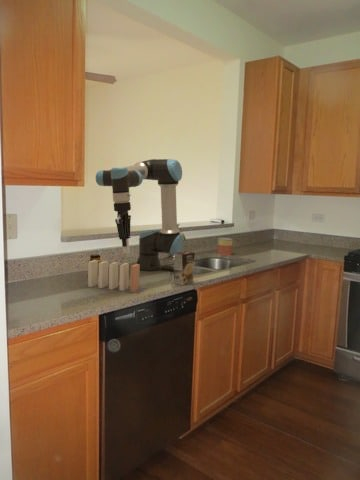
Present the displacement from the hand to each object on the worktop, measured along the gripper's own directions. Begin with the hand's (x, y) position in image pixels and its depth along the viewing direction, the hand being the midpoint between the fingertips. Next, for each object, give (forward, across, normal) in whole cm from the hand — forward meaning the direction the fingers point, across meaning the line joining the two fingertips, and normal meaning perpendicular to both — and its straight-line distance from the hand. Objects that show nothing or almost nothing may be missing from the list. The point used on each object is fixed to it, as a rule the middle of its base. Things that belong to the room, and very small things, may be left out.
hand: (126, 252), depth 183 cm
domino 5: (+18, 0, -3) cm, 18 cm away
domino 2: (+17, 0, +14) cm, 22 cm away
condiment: (+18, +19, +28) cm, 39 cm away
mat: (+18, 0, +8) cm, 20 cm away
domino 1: (+16, 0, +19) cm, 25 cm away
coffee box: (+22, +25, -20) cm, 38 cm away
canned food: (+31, +124, -26) cm, 130 cm away
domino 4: (+18, 0, +3) cm, 18 cm away
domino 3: (+17, 0, +8) cm, 19 cm away
